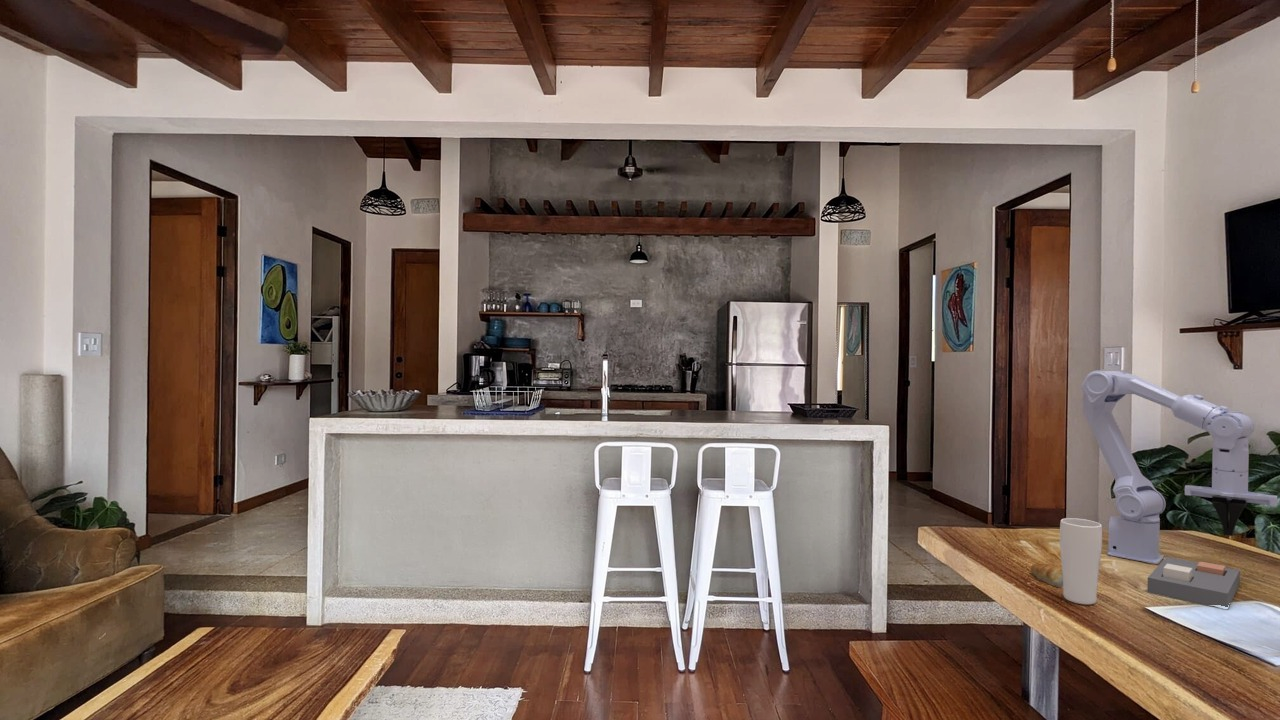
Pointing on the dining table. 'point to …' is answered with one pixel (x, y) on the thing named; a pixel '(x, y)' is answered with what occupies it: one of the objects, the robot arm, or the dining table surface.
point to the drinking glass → (1080, 559)
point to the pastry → (1048, 573)
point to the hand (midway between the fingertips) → (1228, 534)
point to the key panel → (1195, 584)
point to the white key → (1177, 572)
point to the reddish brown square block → (1211, 568)
